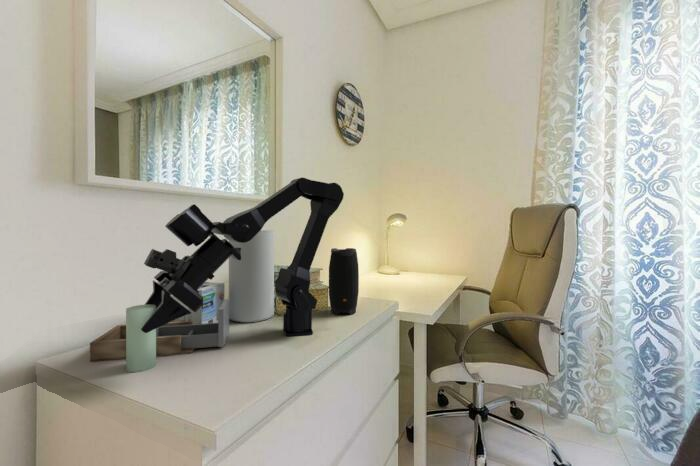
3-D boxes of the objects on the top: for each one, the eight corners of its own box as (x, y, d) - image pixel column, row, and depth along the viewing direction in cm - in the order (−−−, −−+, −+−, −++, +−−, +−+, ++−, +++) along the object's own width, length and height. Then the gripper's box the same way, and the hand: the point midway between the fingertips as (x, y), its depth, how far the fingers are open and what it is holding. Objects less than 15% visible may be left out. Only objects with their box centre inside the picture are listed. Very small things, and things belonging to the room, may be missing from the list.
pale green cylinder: (159, 360, 61) (159, 303, 61) (151, 370, 57) (150, 309, 56) (132, 362, 60) (132, 305, 60) (121, 373, 55) (121, 311, 55)
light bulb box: (201, 333, 76) (201, 289, 76) (176, 332, 77) (176, 288, 77) (225, 321, 87) (225, 282, 87) (203, 319, 88) (203, 281, 88)
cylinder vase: (231, 325, 83) (231, 230, 82) (226, 314, 94) (226, 230, 93) (278, 319, 88) (279, 230, 88) (268, 309, 99) (268, 230, 99)
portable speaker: (354, 317, 91) (354, 250, 91) (324, 314, 94) (324, 249, 94) (361, 309, 99) (361, 248, 99) (333, 307, 102) (334, 247, 102)
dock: (202, 334, 75) (202, 320, 75) (191, 353, 65) (191, 335, 64) (117, 341, 71) (117, 325, 71) (90, 361, 60) (90, 342, 60)
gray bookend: (229, 332, 76) (229, 299, 76) (223, 346, 67) (223, 309, 67) (156, 337, 72) (156, 302, 72) (140, 353, 63) (140, 313, 63)
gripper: (166, 233, 68) (101, 289, 62) (183, 235, 54) (101, 309, 47) (204, 267, 73) (148, 322, 67) (230, 277, 59) (161, 349, 52)
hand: (140, 324), depth 58 cm, fingers open, 9 cm apart
